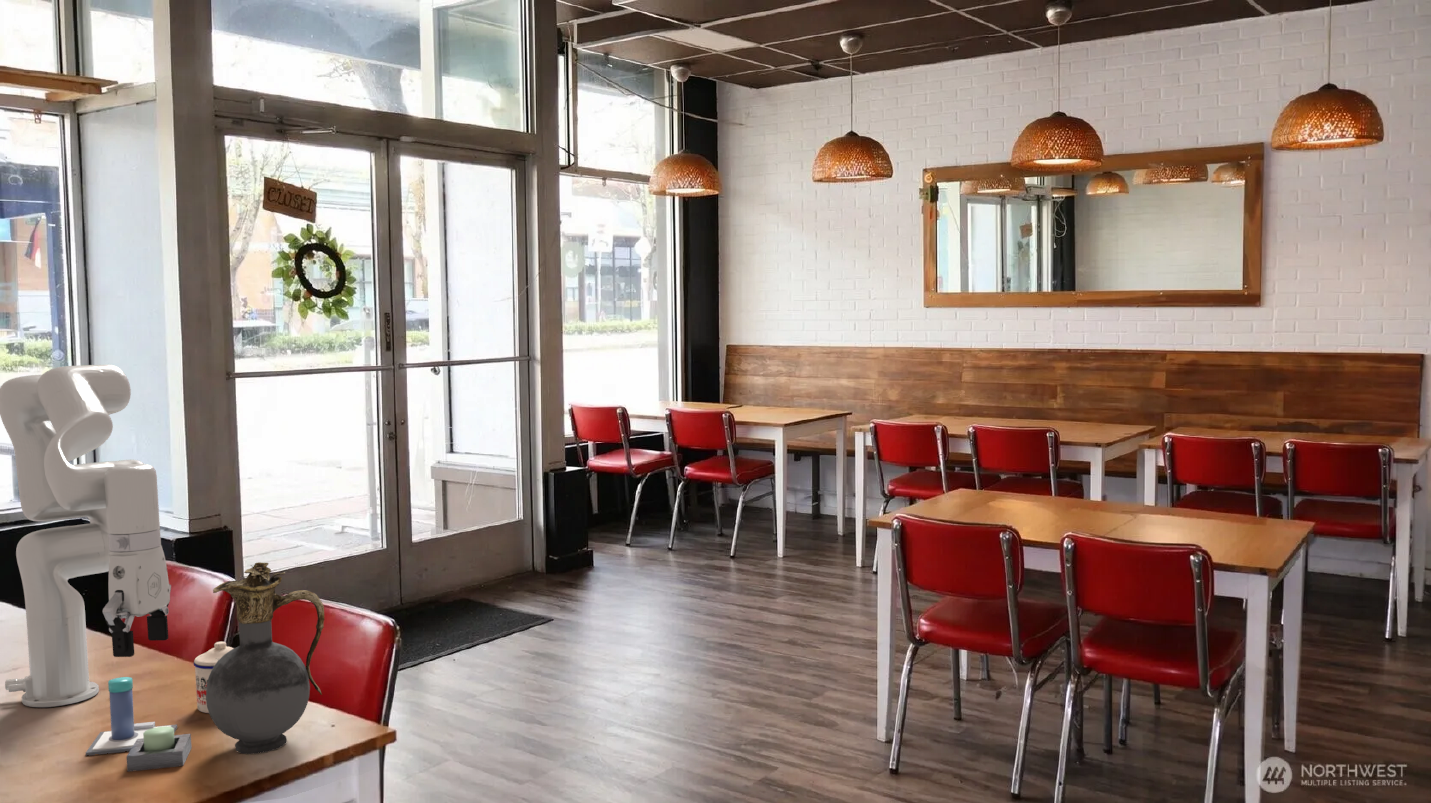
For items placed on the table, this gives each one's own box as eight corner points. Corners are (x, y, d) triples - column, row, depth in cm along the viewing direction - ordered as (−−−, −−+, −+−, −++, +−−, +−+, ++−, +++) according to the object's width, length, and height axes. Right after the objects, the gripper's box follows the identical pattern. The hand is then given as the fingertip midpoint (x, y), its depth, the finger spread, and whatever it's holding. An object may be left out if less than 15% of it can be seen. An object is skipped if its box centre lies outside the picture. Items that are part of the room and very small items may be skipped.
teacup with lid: (185, 708, 215) (182, 644, 214) (232, 695, 223) (229, 633, 222) (222, 721, 208) (219, 655, 207) (269, 706, 215) (266, 643, 214)
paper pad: (85, 755, 193) (85, 748, 193) (100, 734, 203) (100, 727, 202) (166, 747, 196) (166, 739, 196) (177, 726, 206) (177, 719, 205)
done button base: (127, 771, 186) (126, 756, 185) (138, 753, 193) (137, 739, 193) (183, 765, 188) (182, 750, 187) (191, 748, 195) (190, 733, 195)
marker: (113, 733, 200) (111, 678, 200) (137, 731, 201) (134, 676, 201) (108, 741, 197) (105, 684, 196) (132, 739, 198) (129, 682, 197)
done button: (141, 756, 188) (140, 737, 187) (147, 746, 192) (146, 728, 192) (172, 753, 189) (171, 734, 189) (177, 743, 193) (176, 725, 193)
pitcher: (201, 748, 195) (192, 566, 193) (318, 722, 207) (311, 550, 204) (219, 767, 187) (209, 577, 184) (340, 739, 198) (332, 560, 196)
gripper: (125, 552, 182) (133, 663, 183) (186, 532, 199) (192, 634, 200) (79, 552, 183) (86, 663, 184) (142, 533, 200) (149, 634, 201)
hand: (141, 648), depth 192 cm, fingers open, 9 cm apart
